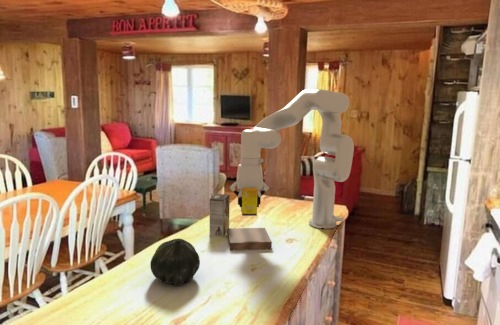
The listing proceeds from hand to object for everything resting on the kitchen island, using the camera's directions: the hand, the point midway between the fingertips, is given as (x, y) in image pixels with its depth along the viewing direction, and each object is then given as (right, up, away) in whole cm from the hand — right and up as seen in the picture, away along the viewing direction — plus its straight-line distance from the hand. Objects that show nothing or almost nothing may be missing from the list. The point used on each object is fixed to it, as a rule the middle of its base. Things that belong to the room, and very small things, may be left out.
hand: (249, 205), depth 154 cm
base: (0, -15, +3) cm, 15 cm away
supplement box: (0, -3, 0) cm, 3 cm away
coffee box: (-13, -13, +12) cm, 22 cm away
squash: (-23, -20, -30) cm, 43 cm away
